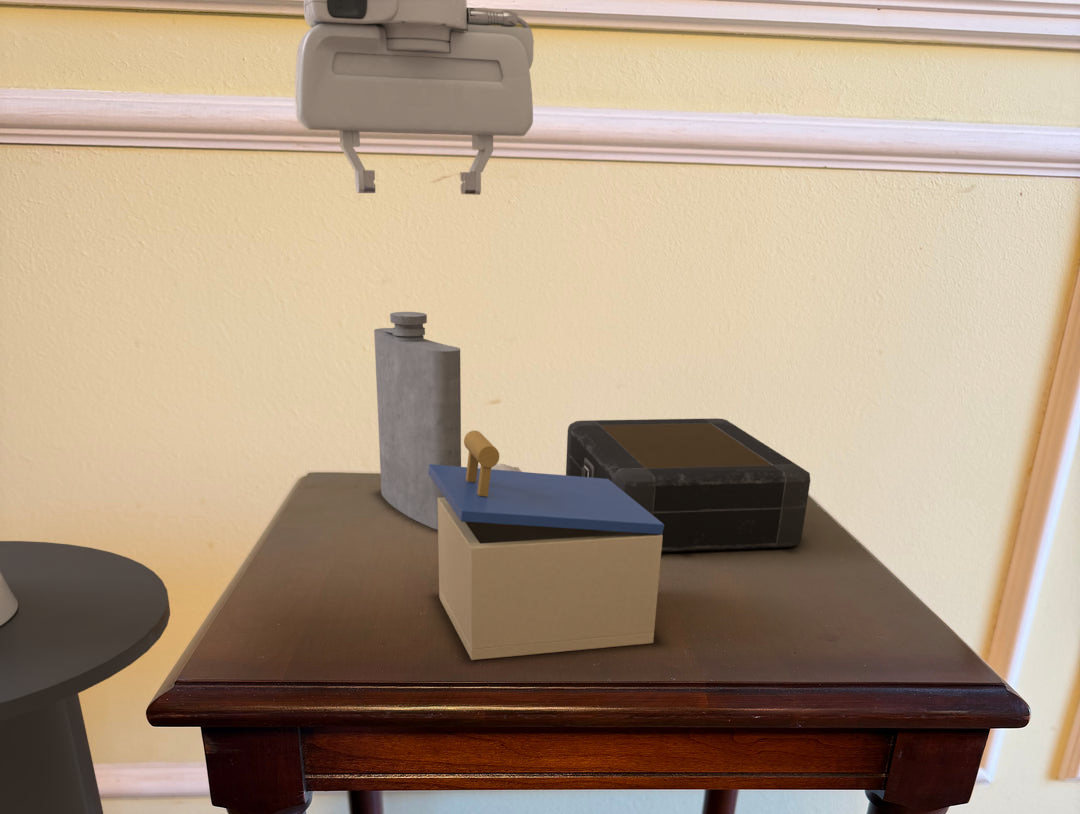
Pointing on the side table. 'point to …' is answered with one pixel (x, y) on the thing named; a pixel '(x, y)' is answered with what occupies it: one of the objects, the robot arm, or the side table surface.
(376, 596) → the side table surface
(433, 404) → the hip flask
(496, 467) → the arrowhead
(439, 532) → the chest
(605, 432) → the cash box
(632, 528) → the lid
